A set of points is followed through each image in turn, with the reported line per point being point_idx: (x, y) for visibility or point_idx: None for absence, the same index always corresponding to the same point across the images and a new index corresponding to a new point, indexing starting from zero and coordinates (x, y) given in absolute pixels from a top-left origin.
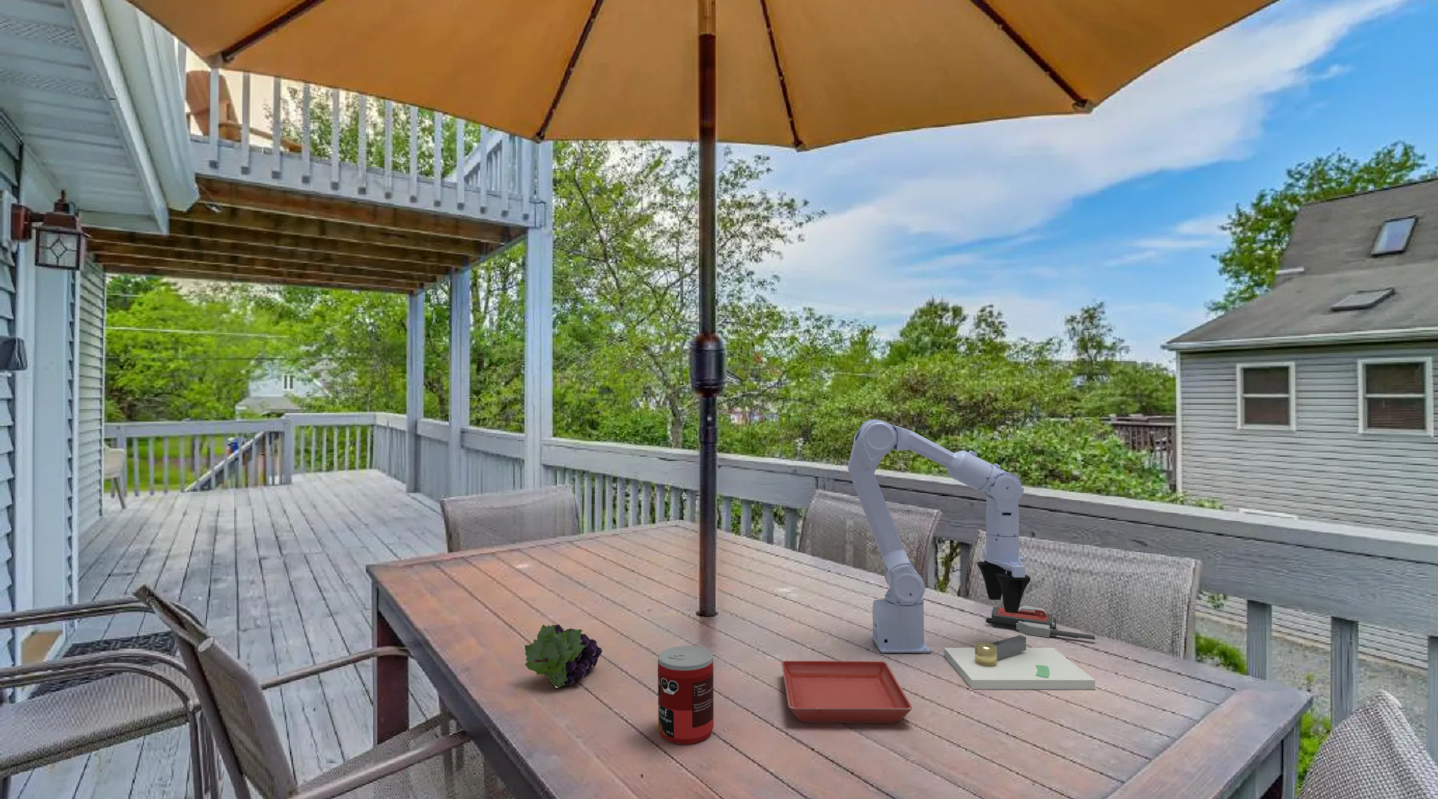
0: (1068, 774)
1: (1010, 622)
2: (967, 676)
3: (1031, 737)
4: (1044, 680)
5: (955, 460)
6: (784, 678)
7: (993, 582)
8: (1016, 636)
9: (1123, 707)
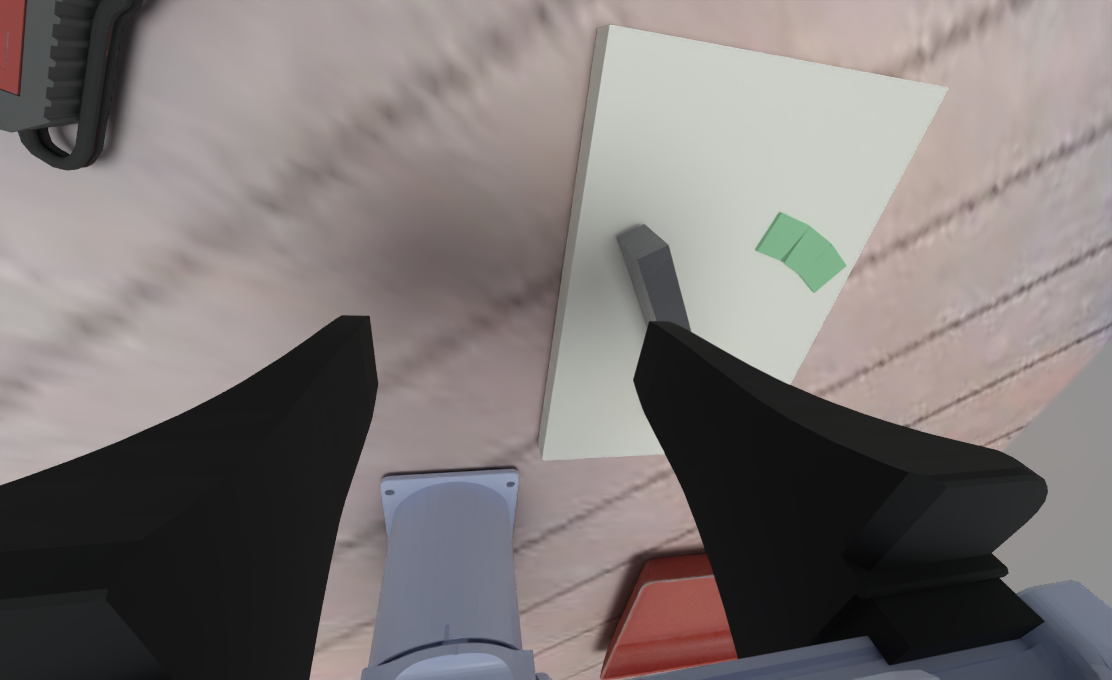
0: (1038, 388)
1: (83, 9)
2: None
3: (942, 395)
4: (844, 279)
5: None
6: (669, 670)
7: (329, 466)
8: (651, 286)
9: (1035, 84)
